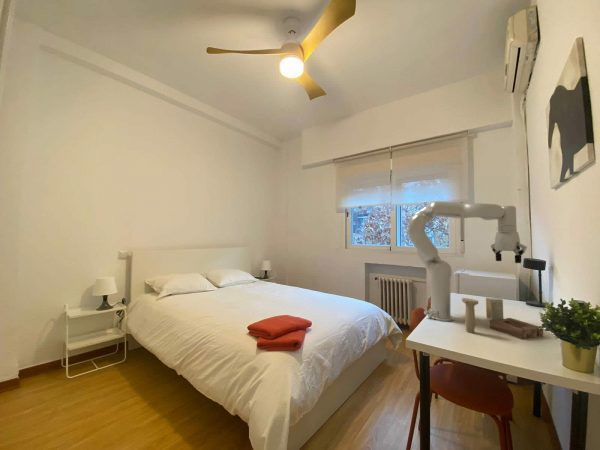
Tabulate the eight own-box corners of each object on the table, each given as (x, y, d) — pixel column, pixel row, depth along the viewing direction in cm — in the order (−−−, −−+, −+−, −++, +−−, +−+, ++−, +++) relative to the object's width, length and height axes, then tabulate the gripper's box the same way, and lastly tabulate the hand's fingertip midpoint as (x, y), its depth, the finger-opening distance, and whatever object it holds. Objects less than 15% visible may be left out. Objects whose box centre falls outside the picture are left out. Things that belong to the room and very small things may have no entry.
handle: (475, 335, 113) (475, 302, 114) (460, 330, 118) (460, 298, 119) (480, 333, 115) (480, 300, 116) (465, 328, 121) (465, 297, 122)
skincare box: (498, 320, 135) (498, 297, 136) (503, 323, 131) (503, 299, 131) (485, 319, 136) (485, 297, 136) (490, 322, 131) (490, 299, 132)
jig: (521, 339, 109) (521, 330, 110) (489, 327, 123) (489, 319, 123) (543, 336, 113) (543, 327, 113) (510, 325, 127) (510, 317, 127)
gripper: (485, 229, 138) (486, 260, 137) (519, 228, 121) (520, 263, 120) (496, 229, 140) (497, 260, 139) (531, 229, 123) (532, 263, 122)
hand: (508, 261), depth 130 cm, fingers open, 9 cm apart
